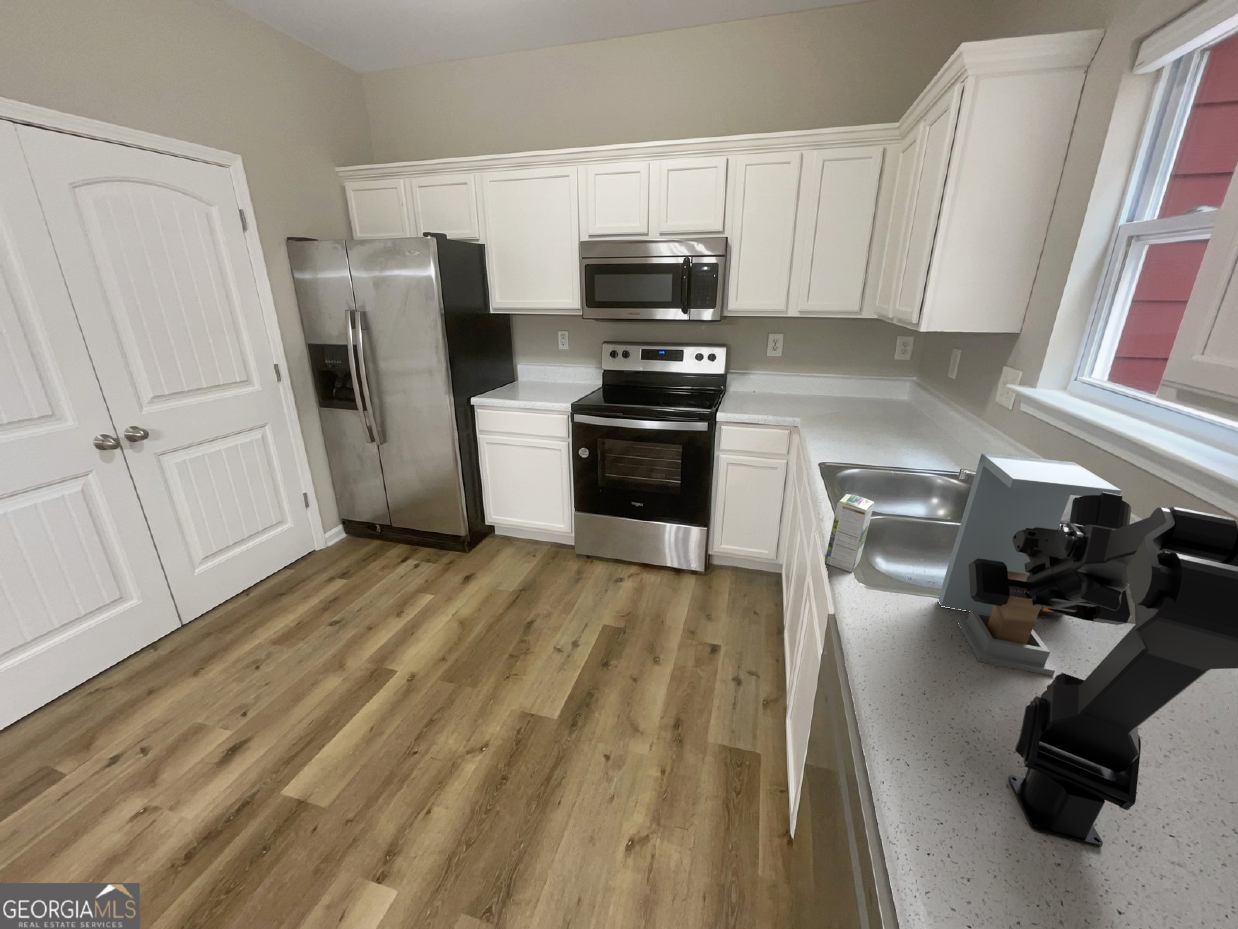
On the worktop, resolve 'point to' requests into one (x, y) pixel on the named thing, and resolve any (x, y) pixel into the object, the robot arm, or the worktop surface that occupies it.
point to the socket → (1004, 647)
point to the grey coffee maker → (1010, 515)
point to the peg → (1013, 617)
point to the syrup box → (849, 532)
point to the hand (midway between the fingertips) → (1015, 601)
